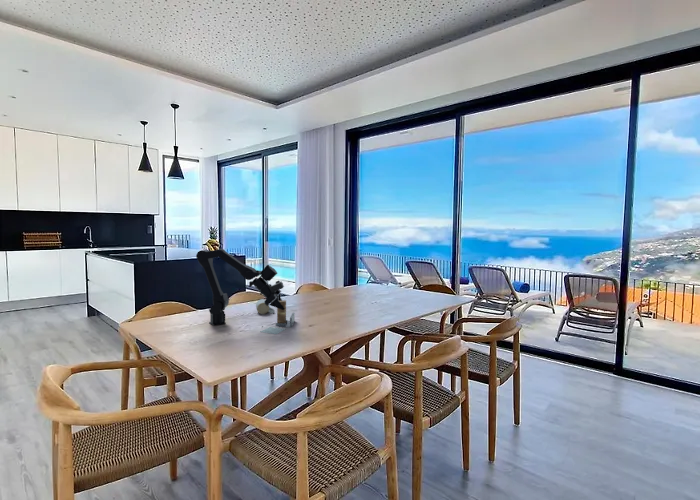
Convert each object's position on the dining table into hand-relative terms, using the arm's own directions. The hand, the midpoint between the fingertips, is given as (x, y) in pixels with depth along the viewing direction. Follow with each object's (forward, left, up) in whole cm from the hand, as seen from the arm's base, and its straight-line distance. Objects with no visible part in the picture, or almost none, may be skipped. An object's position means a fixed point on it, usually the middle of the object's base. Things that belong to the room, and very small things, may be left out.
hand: (284, 308), depth 193 cm
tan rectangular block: (-1, +1, -8) cm, 8 cm away
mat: (-11, -7, -9) cm, 16 cm away
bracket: (0, 0, -9) cm, 9 cm away
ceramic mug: (+5, +28, -9) cm, 30 cm away
